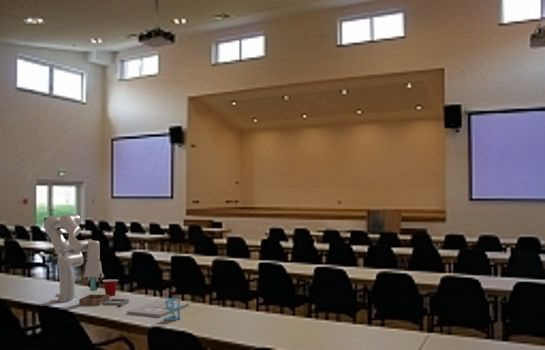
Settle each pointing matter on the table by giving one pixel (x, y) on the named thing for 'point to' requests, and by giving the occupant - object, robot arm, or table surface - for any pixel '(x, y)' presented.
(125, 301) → the tray
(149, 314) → the award plaque
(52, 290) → the table surface
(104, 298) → the walnut box
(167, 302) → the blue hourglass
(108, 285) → the plastic cup
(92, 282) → the peg
